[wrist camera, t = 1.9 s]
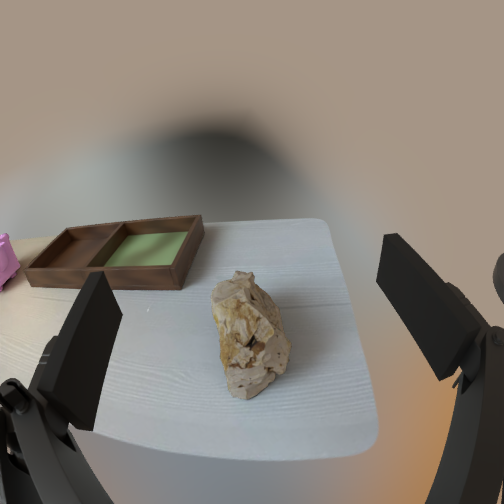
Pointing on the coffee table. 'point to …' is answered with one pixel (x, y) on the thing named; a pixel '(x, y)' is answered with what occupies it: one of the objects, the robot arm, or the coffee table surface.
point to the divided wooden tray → (121, 254)
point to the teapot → (7, 260)
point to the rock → (248, 335)
